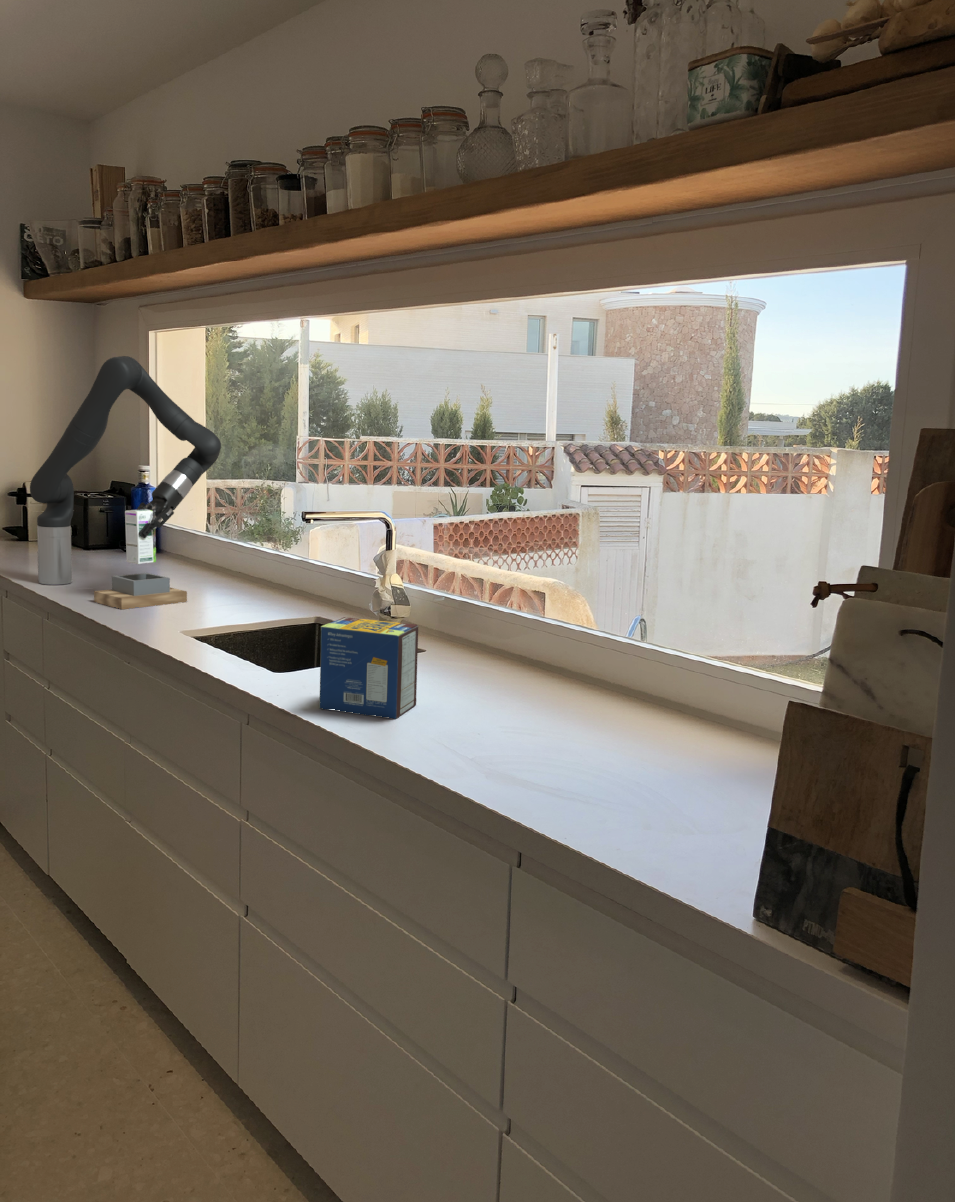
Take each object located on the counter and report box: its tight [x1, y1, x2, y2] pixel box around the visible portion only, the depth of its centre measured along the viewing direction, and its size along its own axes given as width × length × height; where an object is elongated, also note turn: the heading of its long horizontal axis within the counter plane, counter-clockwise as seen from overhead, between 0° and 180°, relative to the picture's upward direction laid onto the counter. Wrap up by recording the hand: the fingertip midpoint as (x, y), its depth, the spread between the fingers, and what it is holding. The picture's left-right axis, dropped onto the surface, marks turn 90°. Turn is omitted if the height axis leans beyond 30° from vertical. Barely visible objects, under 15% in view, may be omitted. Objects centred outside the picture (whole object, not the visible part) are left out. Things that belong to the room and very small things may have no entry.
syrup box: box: [124, 509, 157, 565], centre depth 275 cm, size 6×6×14 cm
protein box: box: [318, 616, 419, 720], centre depth 184 cm, size 10×15×16 cm
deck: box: [93, 587, 188, 610], centre depth 278 cm, size 14×20×3 cm
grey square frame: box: [111, 572, 171, 596], centre depth 277 cm, size 11×11×4 cm
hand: (135, 534), depth 274 cm, fingers closed on syrup box, 6 cm apart
